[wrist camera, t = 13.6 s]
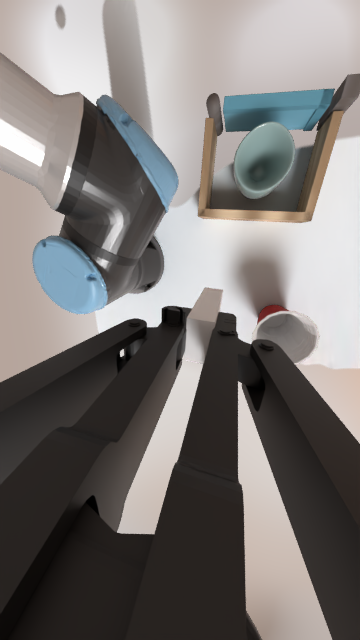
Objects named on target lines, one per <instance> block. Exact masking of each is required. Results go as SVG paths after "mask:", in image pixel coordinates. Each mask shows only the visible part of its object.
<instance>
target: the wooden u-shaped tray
mask: <svg viewBox="0 0 360 640" xmlns="http://www.w3.org/2000/svg"><path fill="white" fill-rule="evenodd" d="M359 93H360V74H352V75H347V77H346V79H345V80H344V81H343V83H342V84H341V86H340V87H339V88H338V90H337V91H336V93H335V94H334V96H333V97H332V101H331V104H330V105H329V107H328V108H327V110H326V111H325V112H324V114H323V115H322V117H321V118H320V119H319V123H318V126H317V131H318V130H319V131H318V132H317V135H316V139H315V143H314V147H313V150H312V154H311V158H310V162H309V165H308V169H307V173H306V177H305V180H304V184H303V188H302V192H301V195H300V199H299V203H298V207H297V211H296V212H284V211H254V210H224V209H210V202H211V192H212V182H213V172H214V163H215V152H216V143H217V136H219V135H220V134H221V133H222V131H223V123H222V115H221V108H220V100H219V97H218V95H217V94H216V93H213V94H211V95H210V96H209V97H208V99H207V103H206V104H207V109H208V114H209V118H206V122H205V134H204V146H203V147H204V148H203V159H202V171H201V184H200V195H199V208H198V217H201V218H203V219H224V220H246V221H269V222H292V223H302V222H308V221H311V219H312V216H313V213H314V209H315V206H316V203H317V199H318V196H319V193H320V189H321V186H322V183H323V179H324V176H325V173H326V169H327V166H328V163H329V159H330V156H331V153H332V149H333V146H334V143H335V139H336V136H337V132H338V129H339V126H340V122H341V119H342V116H343V114H344V113H345V111H346V110H347V109H348V108H349V107H350V106H351V105H352V103H353V102H354V101H355V100H356V99H357V98H358V96H359Z"/></svg>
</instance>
